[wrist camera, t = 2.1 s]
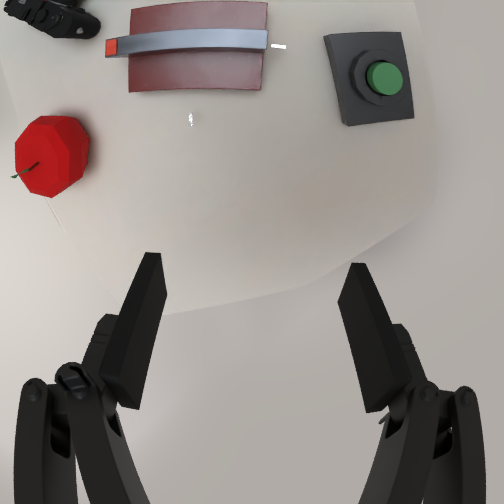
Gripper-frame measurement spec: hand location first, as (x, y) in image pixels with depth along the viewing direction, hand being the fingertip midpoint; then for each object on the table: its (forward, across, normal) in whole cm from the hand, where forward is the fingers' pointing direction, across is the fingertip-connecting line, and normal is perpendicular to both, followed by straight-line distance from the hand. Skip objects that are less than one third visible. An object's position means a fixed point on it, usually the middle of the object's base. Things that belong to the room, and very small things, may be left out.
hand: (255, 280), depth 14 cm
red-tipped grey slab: (+20, +7, -12) cm, 24 cm away
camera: (+24, +24, -21) cm, 39 cm away
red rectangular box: (+23, +7, -12) cm, 27 cm away
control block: (+23, -13, -11) cm, 29 cm away
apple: (+24, +25, -1) cm, 34 cm away
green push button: (+20, -13, -11) cm, 26 cm away
